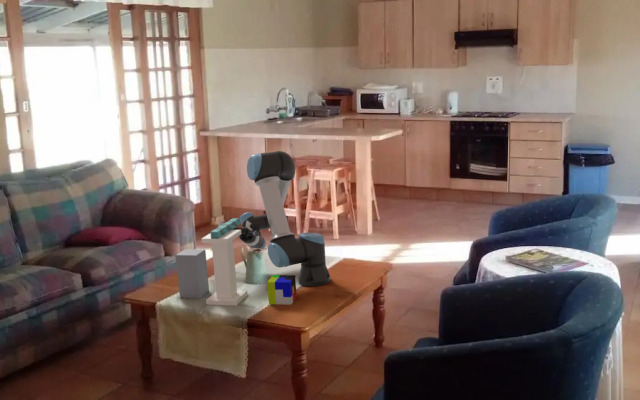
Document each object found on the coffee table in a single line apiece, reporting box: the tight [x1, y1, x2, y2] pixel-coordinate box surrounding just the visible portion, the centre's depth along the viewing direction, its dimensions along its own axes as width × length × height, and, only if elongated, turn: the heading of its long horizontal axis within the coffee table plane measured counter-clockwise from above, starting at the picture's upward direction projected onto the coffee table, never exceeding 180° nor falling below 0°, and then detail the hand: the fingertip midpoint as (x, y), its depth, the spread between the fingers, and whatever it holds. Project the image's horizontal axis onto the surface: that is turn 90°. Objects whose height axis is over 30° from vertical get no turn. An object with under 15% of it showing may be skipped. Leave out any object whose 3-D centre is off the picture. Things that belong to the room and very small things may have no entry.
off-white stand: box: [201, 229, 249, 306], centre depth 306 cm, size 16×14×30 cm
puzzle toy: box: [266, 274, 297, 305], centre depth 303 cm, size 10×10×10 cm
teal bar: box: [210, 217, 241, 239], centre depth 308 cm, size 26×3×3 cm, turn 165°
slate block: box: [175, 248, 210, 299], centre depth 317 cm, size 10×10×20 cm
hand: (232, 223), depth 318 cm, fingers open, 13 cm apart
